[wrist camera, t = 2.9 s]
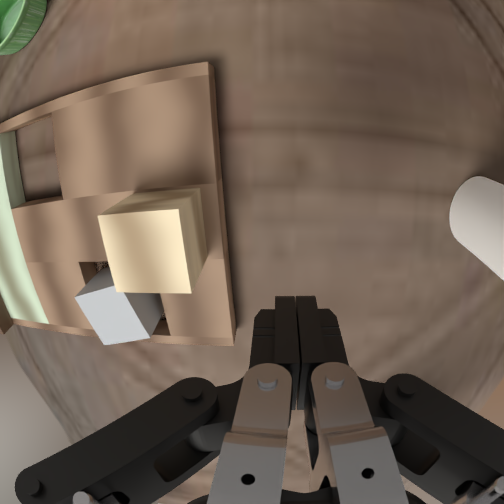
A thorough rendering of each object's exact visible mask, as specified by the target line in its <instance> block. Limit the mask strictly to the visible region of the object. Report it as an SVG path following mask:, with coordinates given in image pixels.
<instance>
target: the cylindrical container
mask: <svg viewBox="0 0 504 504" xmlns="http://www.w3.org/2000/svg"><path fill="white" fill-rule="evenodd" d="M449 221H450V227H451V231H452V233H453V235H454V237H455V238H456V239H457V241H458V242H460V243H461V244H462V245H463V246H464V247H466V248H467V249H468V250H469V251H470V252H472V253H473V254H474V255H475V256H476V257H478V258H479V259H480V260H481V261H482V262H483V263H484V264H486V265H487V266H488V267H489V268H490V269H491V270H492V271H493V272H495V273H496V274H497V275H498V276H499V277H500V278H501V279H502V280H503V281H504V185H503V184H501V183H498V182H496V181H493V180H491V179H488V178H486V177H482V176H476V177H472V178H470V179H468V180H467V181H465V182H464V183H463V184H462V185H461V186H460V188H459V189H458V190H457V192H456V194H455V196H454V198H453V200H452V203H451V208H450V216H449Z"/></svg>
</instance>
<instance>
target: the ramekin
mask: <svg viewBox="0 0 504 504" xmlns="http://www.w3.org/2000/svg"><path fill="white" fill-rule="evenodd" d="M46 5H47V0H0V55H7V54H13V53H16V52H18V51H19V50H21V49H22V48H23V47H24V46H26V45H27V44H28V43H29V41H30V40H31V39H32V38H33V36H34V35H35V34H36V32H37V30H38V29H39V27H40V25H41V23H42V21H43V18H44V15H45V12H46Z"/></svg>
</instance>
